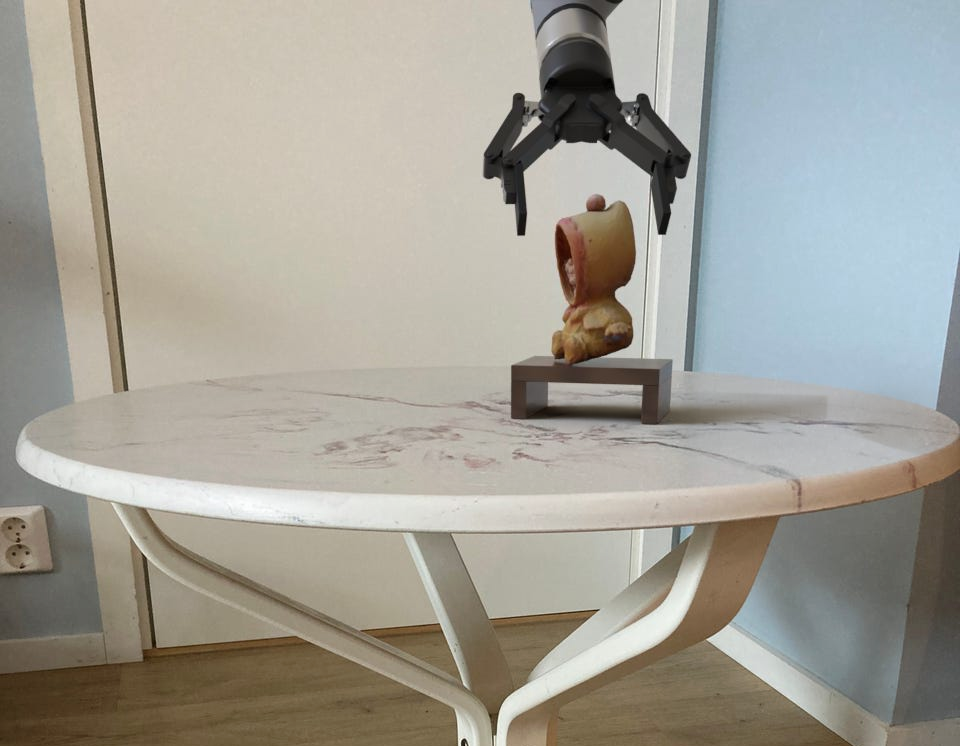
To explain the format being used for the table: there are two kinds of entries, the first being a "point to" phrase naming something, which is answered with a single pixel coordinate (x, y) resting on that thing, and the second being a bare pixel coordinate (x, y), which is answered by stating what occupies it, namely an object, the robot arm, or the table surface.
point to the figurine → (594, 280)
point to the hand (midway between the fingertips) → (593, 225)
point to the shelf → (591, 382)
